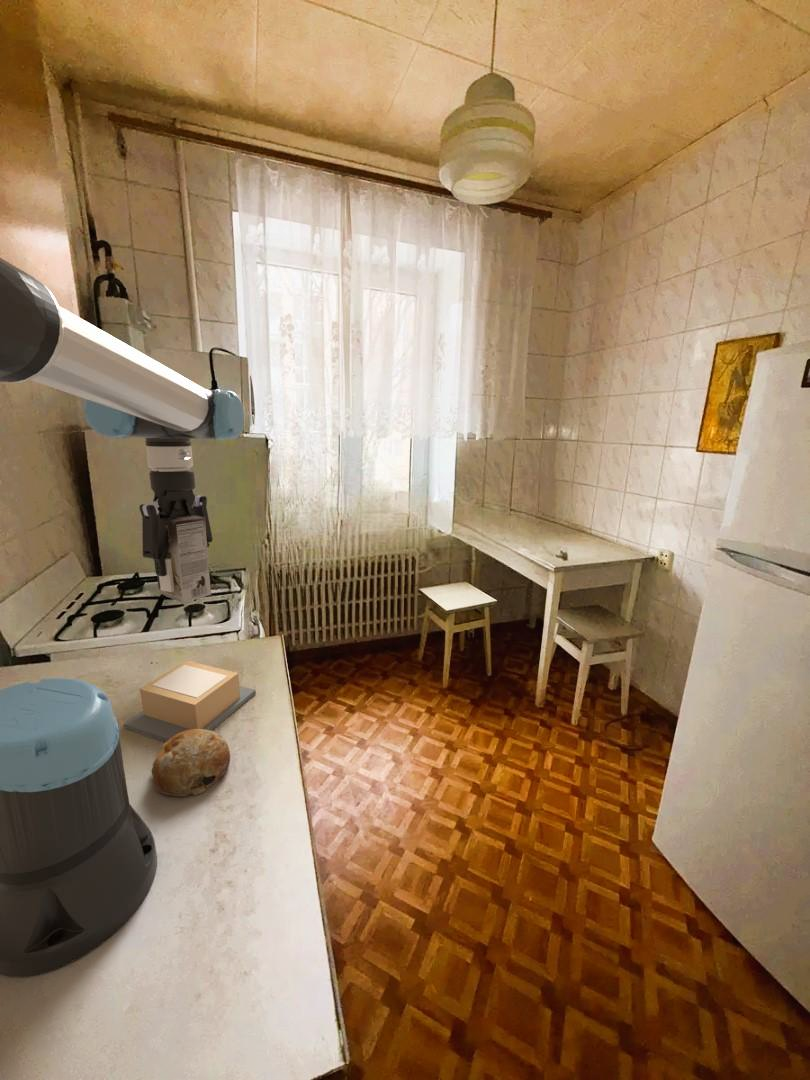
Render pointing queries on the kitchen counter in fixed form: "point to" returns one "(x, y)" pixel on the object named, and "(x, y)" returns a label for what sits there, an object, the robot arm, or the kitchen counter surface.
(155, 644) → the kitchen counter surface
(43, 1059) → the kitchen counter surface
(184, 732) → the bread roll
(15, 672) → the kitchen counter surface
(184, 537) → the coffee box
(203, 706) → the base
